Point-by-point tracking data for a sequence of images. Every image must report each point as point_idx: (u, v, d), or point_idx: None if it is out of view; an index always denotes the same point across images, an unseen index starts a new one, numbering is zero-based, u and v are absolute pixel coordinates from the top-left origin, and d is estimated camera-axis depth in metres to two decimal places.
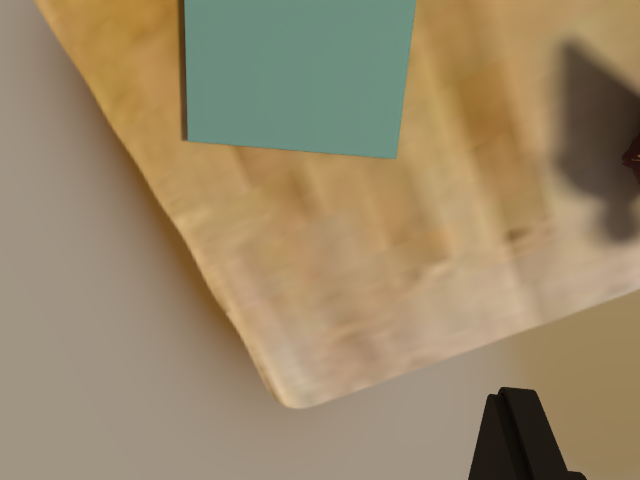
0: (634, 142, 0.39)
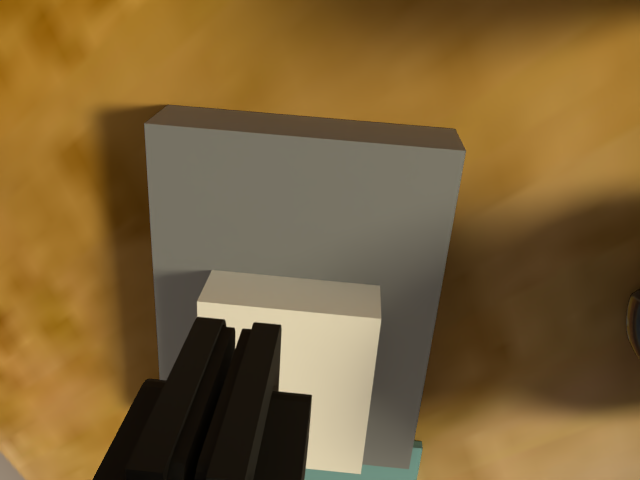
0: None
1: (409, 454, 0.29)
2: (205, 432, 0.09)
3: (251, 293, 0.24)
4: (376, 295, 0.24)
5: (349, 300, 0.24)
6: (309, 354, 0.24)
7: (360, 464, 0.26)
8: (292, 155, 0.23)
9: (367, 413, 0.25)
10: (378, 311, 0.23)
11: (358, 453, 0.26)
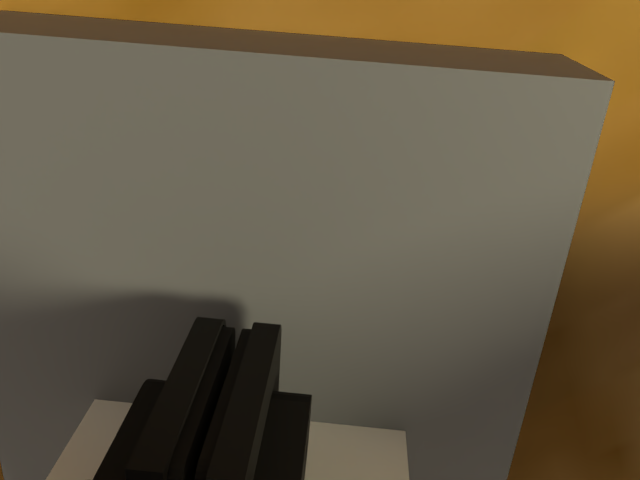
0: None
1: None
2: (205, 432, 0.09)
3: None
4: (399, 459, 0.13)
5: (347, 472, 0.12)
6: None
7: None
8: (230, 95, 0.11)
9: None
10: None
11: None
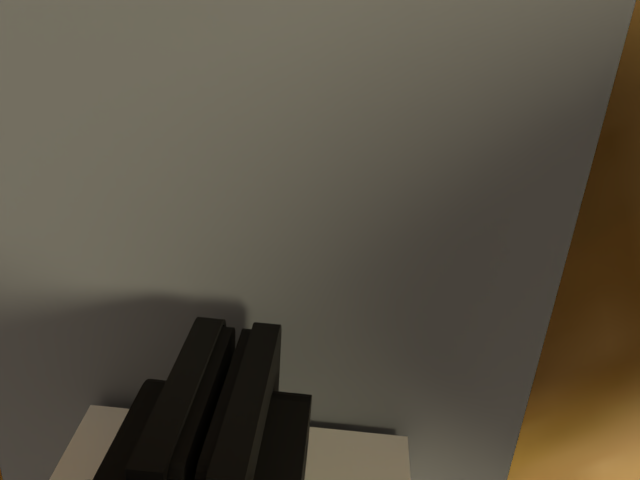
0: None
1: None
2: (205, 432, 0.09)
3: None
4: (401, 467, 0.12)
5: None
6: None
7: None
8: None
9: None
10: None
11: None
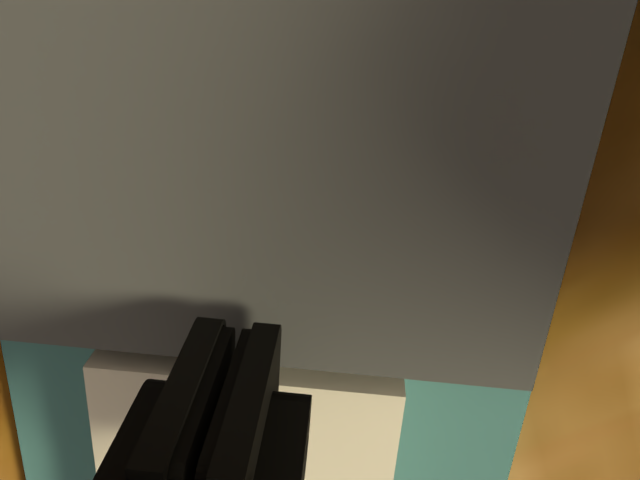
0: None
1: (537, 353, 0.12)
2: (205, 432, 0.09)
3: None
4: None
5: None
6: None
7: None
8: None
9: None
10: (400, 382, 0.13)
11: None
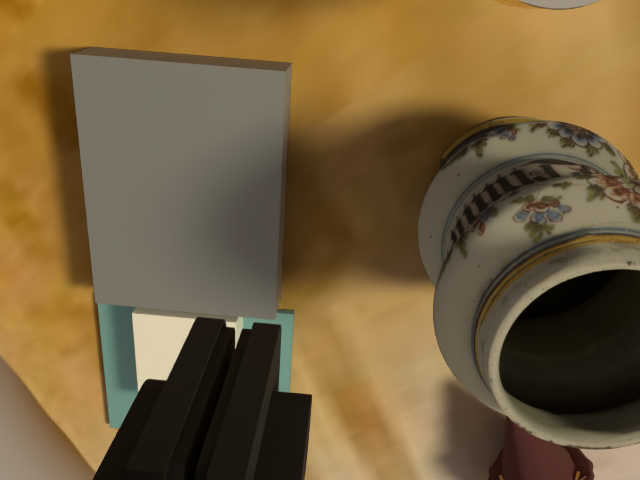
0: (501, 454, 0.46)
1: (274, 307, 0.40)
2: (205, 432, 0.09)
3: None
4: None
5: None
6: None
7: None
8: (170, 75, 0.34)
9: None
10: (236, 318, 0.41)
11: None
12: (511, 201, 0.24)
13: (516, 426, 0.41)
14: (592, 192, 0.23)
